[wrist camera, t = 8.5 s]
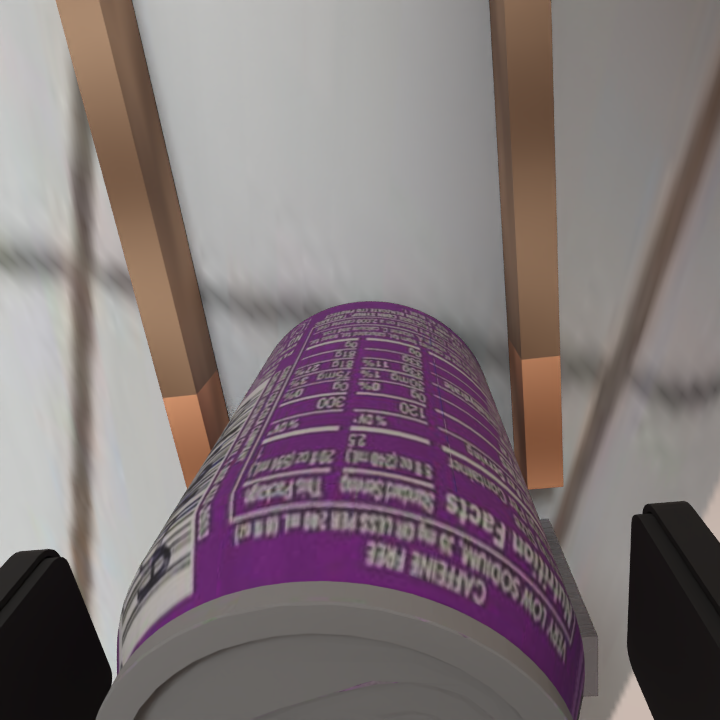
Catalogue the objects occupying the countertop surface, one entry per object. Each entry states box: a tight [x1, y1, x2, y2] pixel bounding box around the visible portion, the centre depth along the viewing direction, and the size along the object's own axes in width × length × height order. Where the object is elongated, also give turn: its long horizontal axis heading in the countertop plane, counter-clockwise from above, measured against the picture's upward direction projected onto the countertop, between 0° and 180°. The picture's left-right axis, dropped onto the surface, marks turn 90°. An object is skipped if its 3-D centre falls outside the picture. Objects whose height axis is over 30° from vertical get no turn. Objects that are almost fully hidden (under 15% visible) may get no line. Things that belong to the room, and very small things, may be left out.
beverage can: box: [96, 301, 585, 720], centre depth 13 cm, size 7×7×12 cm
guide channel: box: [56, 0, 598, 696], centre depth 15 cm, size 22×11×5 cm, turn 8°
